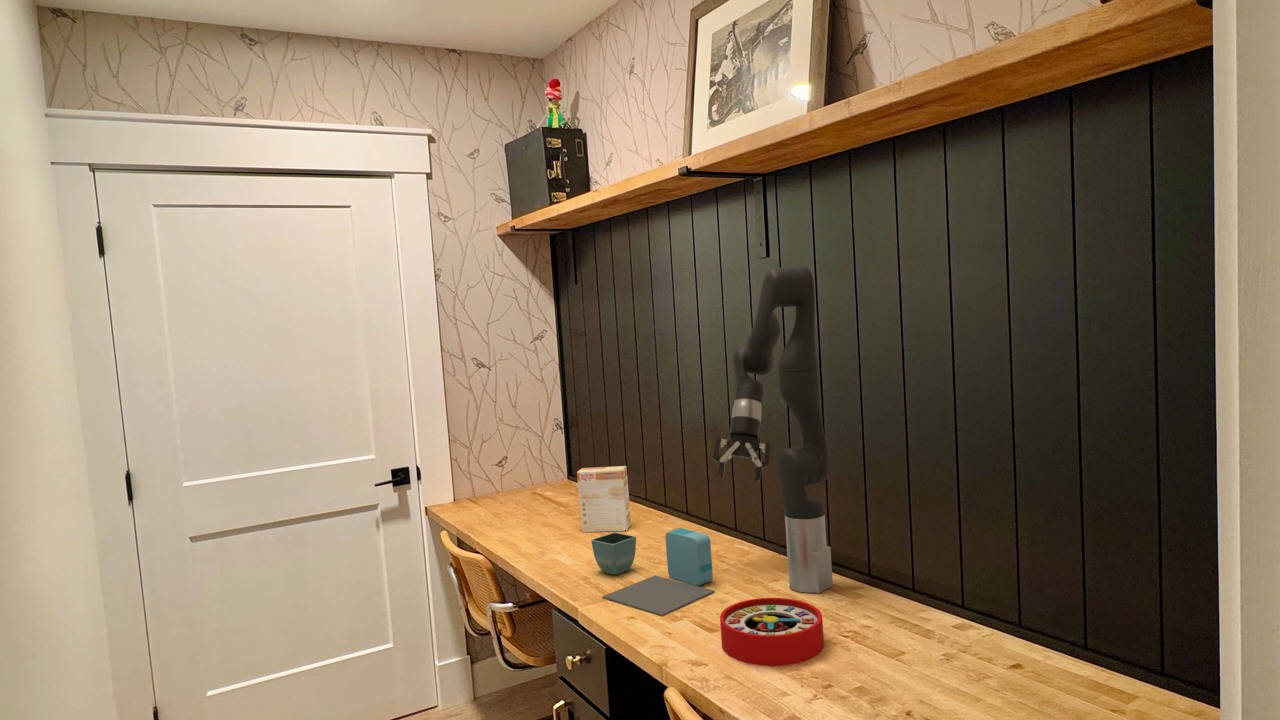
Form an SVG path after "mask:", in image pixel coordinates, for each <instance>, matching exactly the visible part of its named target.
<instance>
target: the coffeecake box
mask: <svg viewBox="0 0 1280 720" xmlns="http://www.w3.org/2000/svg"><path fill="white" fill-rule="evenodd" d="M627 468H628V467H627V465H621V466H620V465H619V466H598V467H596V466H595V467H582V468H580V469H579V470H578V471H577V472H576V479H577V492H578V504H579V505H578V506H579V513H580V514H579V517H580V527H581V533H592V532H593V533H598V532H599V533H601V532H604V533H605V532H628V530H629V529H630V528H629V527H631V526H632V520H631V517H632V516H631V507H630V493H629V491H630V490H629V480H628V469H627ZM625 530H626V531H625Z"/></svg>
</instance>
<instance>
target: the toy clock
mask: <svg viewBox="0 0 1280 720" xmlns="http://www.w3.org/2000/svg"><path fill="white" fill-rule="evenodd" d="M823 621H824V620H823V615H822V612H821V611H820V609H819V608H817V607H816V606H814V605H813V604H811V603H808V602H806V601H801V600H799V599H793V598H788V597H787V598H785V597H758V598H752V599H745V600H742V601H738V602H736V603H733V604H731V605H728V606H727V607H726V608H725V609H723V610H722V612H720V616H719V623H720V638H721V648H722V651H723V652H724V653H725V654H726V655H727V656H729V657H730V658H732V659H734V660H737V661H739V662H742V663H745V664H749V665H756V666H765V667H778V666H779V667H780V666H789V665H796V664H800V663H803V662H806V661H809V660H811V659H813V658H815V657H817V656H819V654H820V653H821V652H822V651H823V649H824V647H825V641H824V640H825V639H824V623H823Z"/></svg>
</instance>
